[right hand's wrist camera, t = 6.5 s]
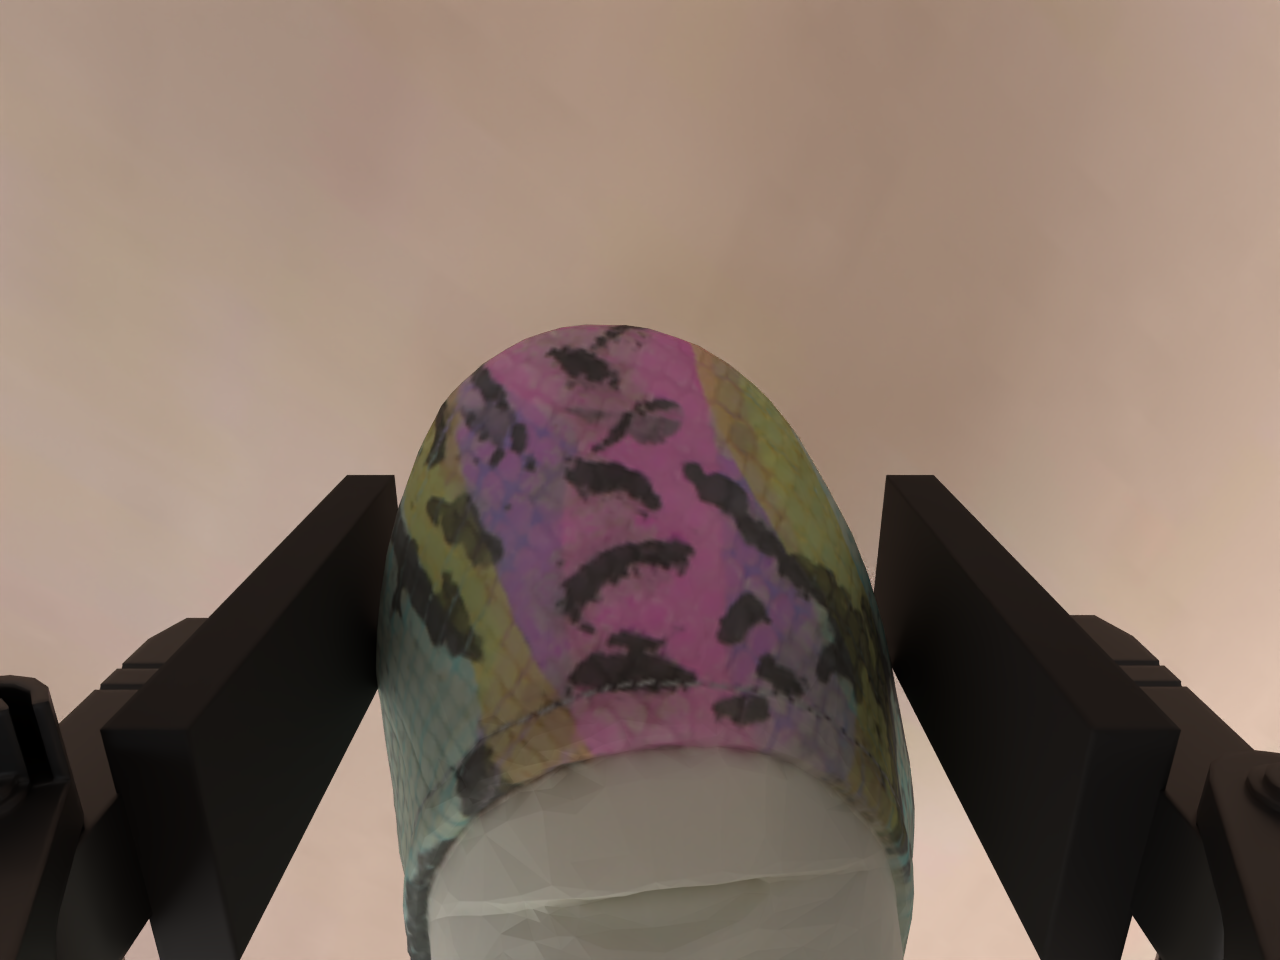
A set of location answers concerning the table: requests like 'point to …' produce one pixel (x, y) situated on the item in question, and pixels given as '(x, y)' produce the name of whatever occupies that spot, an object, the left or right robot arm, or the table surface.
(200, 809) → the right robot arm
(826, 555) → the ballet flat
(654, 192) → the table surface
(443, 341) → the table surface
